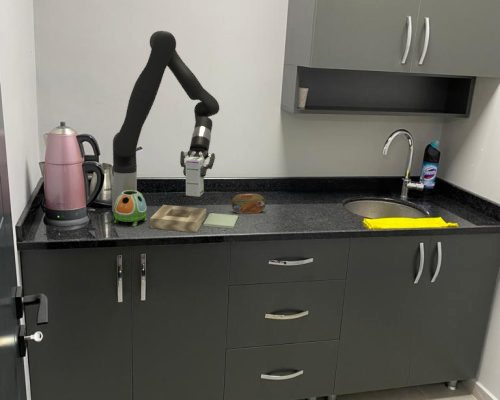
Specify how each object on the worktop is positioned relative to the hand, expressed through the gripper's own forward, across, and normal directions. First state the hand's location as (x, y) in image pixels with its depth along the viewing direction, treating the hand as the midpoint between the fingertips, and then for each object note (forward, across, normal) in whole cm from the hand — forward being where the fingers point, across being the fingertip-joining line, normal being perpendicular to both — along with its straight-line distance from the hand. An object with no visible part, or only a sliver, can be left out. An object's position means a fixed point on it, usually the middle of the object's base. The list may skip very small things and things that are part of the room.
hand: (194, 175), depth 194 cm
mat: (+10, +10, +18) cm, 23 cm away
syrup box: (+4, 0, +7) cm, 8 cm away
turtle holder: (+16, -25, +12) cm, 32 cm away
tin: (-1, +19, +30) cm, 35 cm away
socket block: (+14, -6, +13) cm, 20 cm away
